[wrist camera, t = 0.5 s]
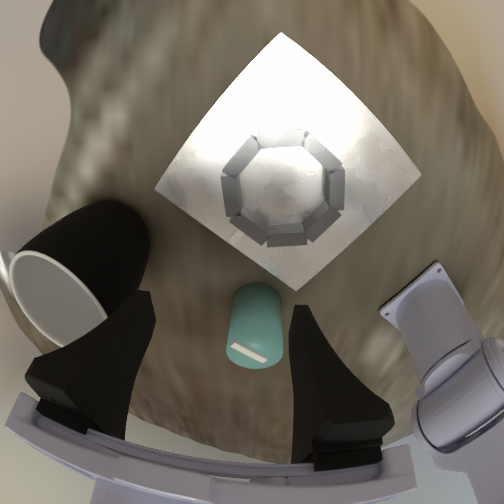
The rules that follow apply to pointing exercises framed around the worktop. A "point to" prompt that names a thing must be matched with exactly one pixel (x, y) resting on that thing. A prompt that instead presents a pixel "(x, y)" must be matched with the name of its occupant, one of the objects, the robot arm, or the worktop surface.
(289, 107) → the panel
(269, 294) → the knob
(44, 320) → the mug
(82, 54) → the worktop surface
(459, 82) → the worktop surface
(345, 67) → the worktop surface
